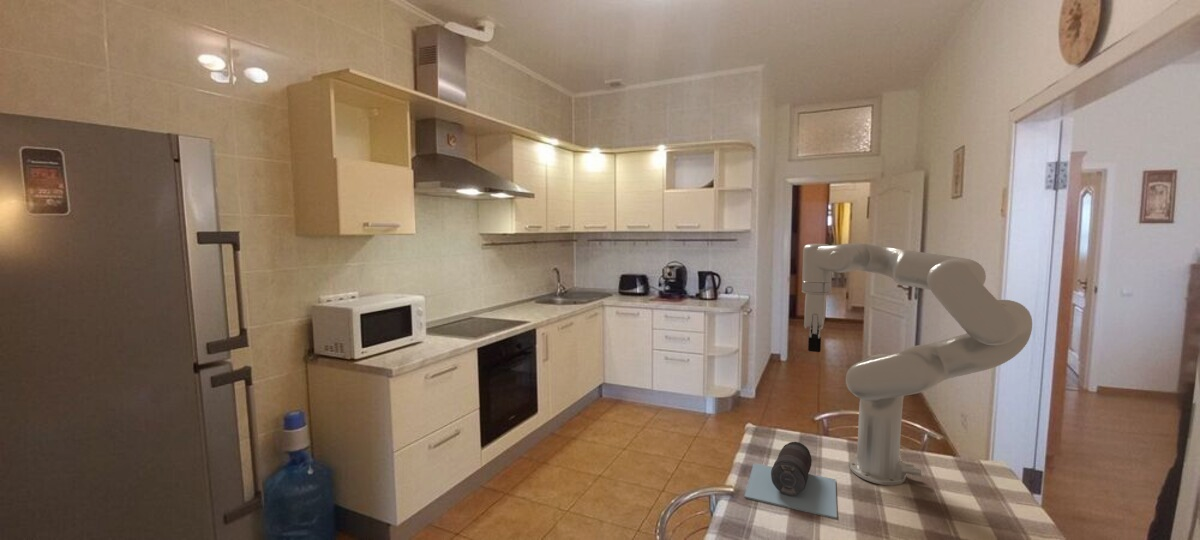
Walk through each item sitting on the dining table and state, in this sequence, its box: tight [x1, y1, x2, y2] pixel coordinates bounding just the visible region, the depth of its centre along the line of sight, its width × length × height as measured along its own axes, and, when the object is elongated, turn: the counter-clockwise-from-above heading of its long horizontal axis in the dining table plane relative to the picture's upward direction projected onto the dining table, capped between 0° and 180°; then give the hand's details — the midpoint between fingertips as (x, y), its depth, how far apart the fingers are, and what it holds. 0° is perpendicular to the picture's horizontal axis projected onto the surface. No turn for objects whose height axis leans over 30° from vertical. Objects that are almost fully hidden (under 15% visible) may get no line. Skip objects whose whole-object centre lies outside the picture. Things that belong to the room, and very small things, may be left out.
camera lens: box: [771, 441, 813, 495], centre depth 119 cm, size 8×8×15 cm
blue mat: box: [743, 462, 838, 520], centre depth 117 cm, size 20×17×1 cm
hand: (814, 350), depth 134 cm, fingers closed
